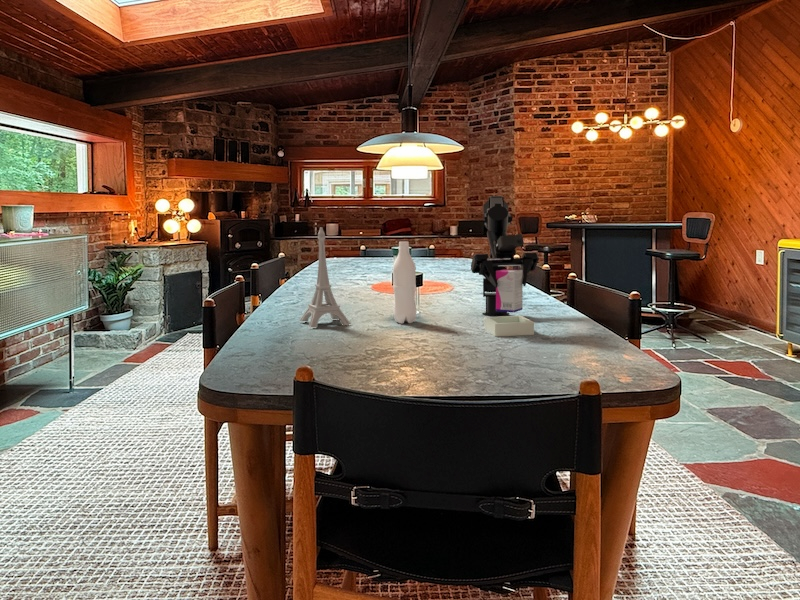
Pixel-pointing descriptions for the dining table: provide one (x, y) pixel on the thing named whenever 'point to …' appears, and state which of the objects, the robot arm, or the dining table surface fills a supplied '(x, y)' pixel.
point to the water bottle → (404, 285)
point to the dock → (509, 325)
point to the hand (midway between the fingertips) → (510, 285)
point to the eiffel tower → (317, 306)
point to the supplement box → (509, 290)
